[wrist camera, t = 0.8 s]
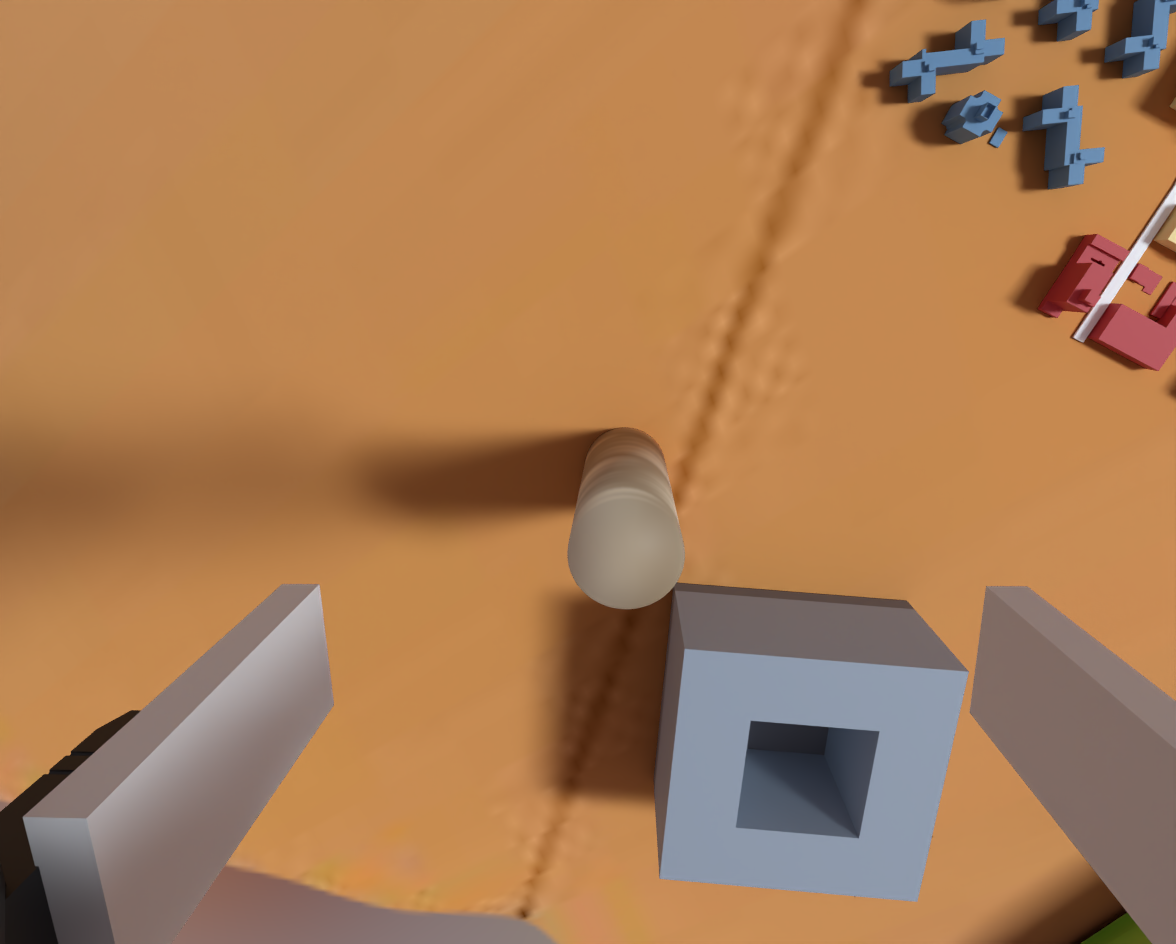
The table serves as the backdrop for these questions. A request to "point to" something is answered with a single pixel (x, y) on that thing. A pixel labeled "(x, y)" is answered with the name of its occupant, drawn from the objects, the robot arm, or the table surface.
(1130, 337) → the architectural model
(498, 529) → the table surface
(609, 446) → the peg
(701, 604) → the socket block
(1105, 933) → the toy bus
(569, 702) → the table surface
